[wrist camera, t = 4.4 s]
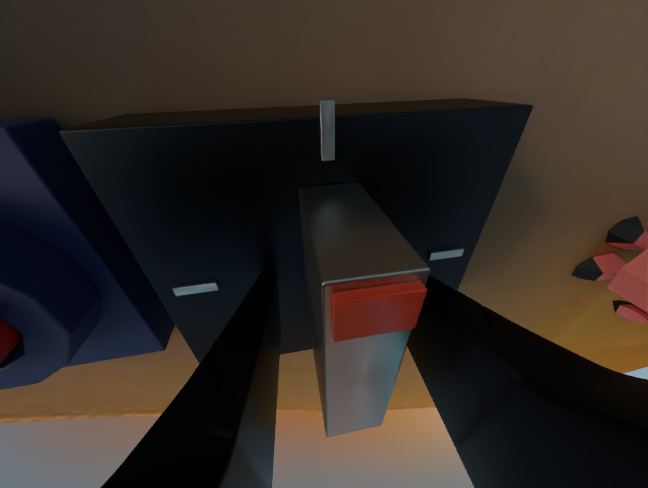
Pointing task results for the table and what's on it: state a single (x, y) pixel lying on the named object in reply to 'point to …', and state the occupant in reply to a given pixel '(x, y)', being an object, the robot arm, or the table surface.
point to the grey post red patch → (357, 301)
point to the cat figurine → (623, 270)
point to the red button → (7, 338)
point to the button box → (65, 264)
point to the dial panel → (289, 192)
